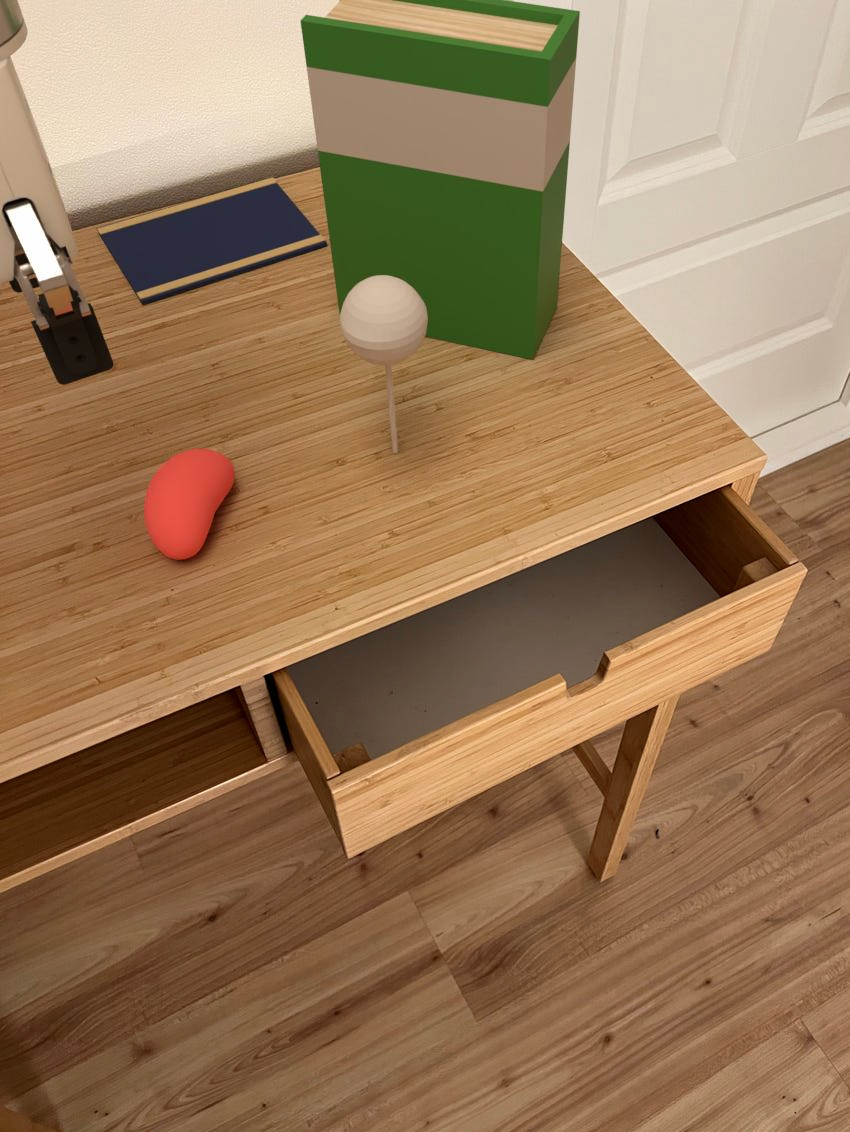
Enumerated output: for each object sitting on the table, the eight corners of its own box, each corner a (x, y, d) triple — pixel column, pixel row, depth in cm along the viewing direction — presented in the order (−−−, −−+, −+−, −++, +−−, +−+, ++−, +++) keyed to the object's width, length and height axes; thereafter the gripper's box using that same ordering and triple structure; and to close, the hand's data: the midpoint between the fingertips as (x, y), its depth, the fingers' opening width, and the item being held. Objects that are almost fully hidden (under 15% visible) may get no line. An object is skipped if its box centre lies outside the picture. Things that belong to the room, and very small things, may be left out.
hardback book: (340, 318, 87) (300, 20, 67) (371, 270, 91) (342, -24, 72) (533, 359, 84) (550, 59, 64) (557, 307, 88) (579, 11, 68)
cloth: (142, 305, 88) (141, 300, 88) (97, 231, 95) (95, 227, 94) (327, 246, 93) (326, 241, 93) (272, 180, 100) (271, 175, 99)
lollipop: (386, 414, 80) (370, 246, 68) (448, 441, 78) (443, 273, 66) (341, 461, 77) (316, 293, 65) (405, 490, 75) (391, 323, 63)
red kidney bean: (130, 550, 73) (116, 529, 67) (182, 443, 75) (174, 414, 69) (196, 578, 74) (189, 561, 68) (247, 472, 76) (244, 446, 70)
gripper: (-188, -43, 48) (-37, 271, 62) (-122, 112, 39) (38, 437, 53) (-31, -74, 50) (82, 236, 64) (66, 67, 41) (172, 390, 55)
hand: (62, 327), depth 59 cm, fingers open, 9 cm apart
